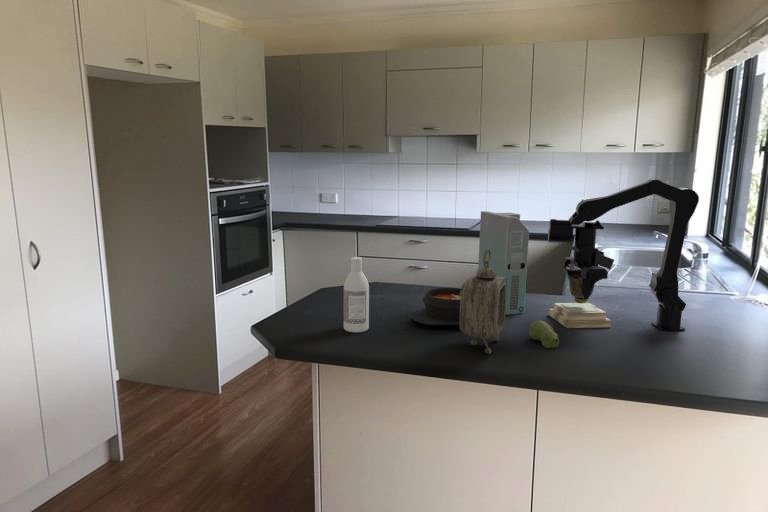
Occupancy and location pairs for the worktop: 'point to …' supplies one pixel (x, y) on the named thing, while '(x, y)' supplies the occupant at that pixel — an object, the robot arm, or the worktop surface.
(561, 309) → the oak plinth
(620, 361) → the worktop surface
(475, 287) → the tabletop clock
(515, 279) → the light blue cardboard box
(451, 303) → the casserole
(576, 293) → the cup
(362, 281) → the bath foam
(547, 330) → the pear
